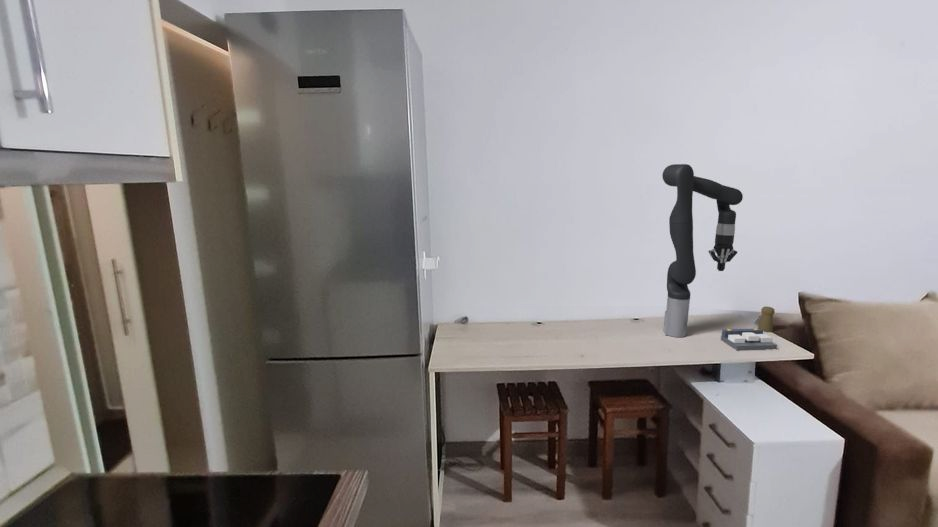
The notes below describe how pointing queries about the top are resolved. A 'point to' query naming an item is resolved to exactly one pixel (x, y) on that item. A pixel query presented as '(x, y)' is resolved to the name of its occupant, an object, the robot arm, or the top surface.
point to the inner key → (736, 338)
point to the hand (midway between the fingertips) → (720, 270)
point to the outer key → (764, 338)
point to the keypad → (748, 344)
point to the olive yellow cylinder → (766, 319)
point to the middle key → (750, 336)
